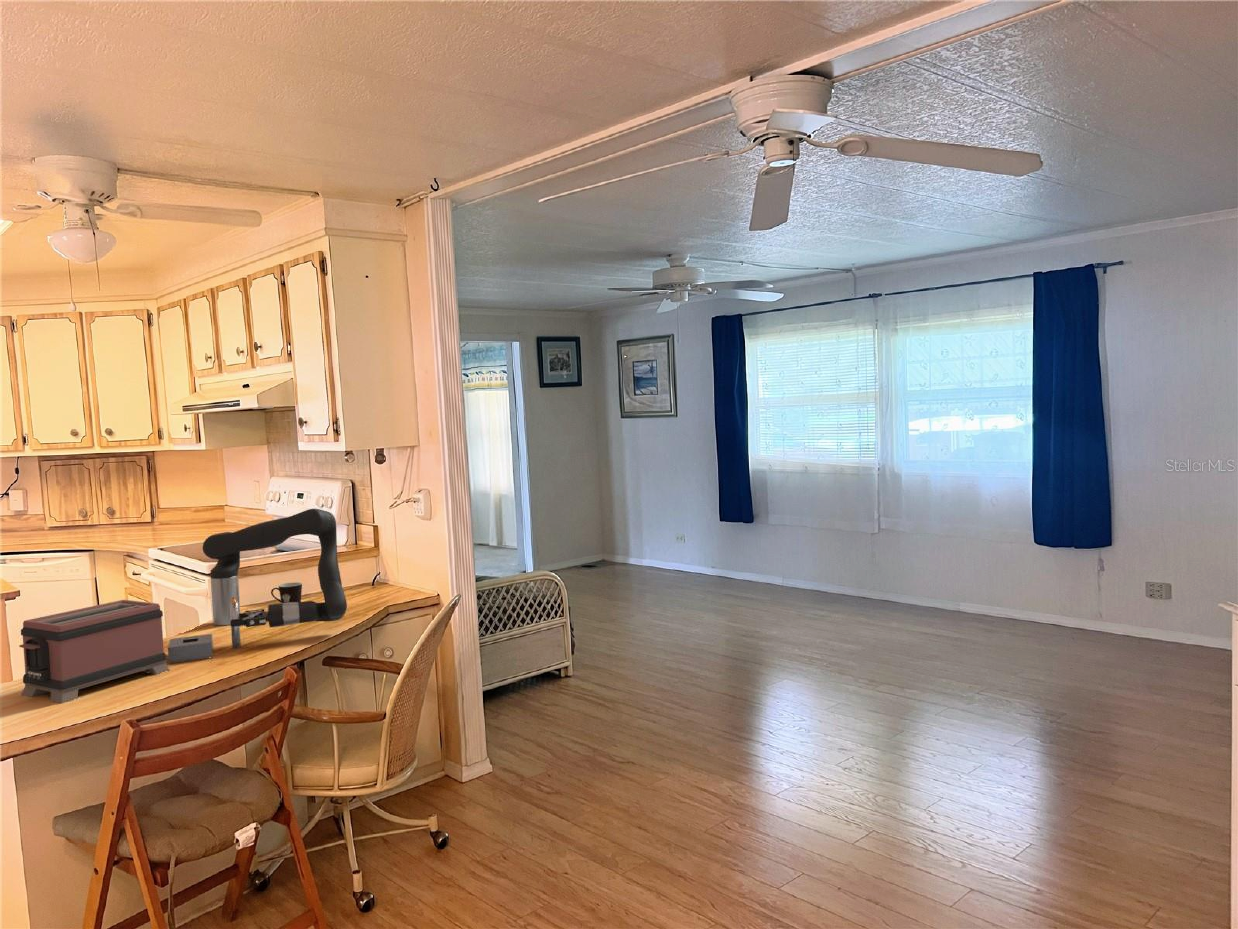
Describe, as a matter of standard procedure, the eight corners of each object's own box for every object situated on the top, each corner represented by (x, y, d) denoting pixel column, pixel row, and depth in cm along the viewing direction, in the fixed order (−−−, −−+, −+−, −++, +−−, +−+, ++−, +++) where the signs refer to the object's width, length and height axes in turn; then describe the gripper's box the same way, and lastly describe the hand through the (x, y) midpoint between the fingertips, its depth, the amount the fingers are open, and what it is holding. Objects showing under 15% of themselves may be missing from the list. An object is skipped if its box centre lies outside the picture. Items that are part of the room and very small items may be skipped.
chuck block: (171, 654, 270) (170, 638, 269) (212, 648, 275) (212, 633, 274) (168, 663, 259) (167, 647, 258) (212, 658, 264) (211, 642, 263)
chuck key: (232, 646, 277) (229, 597, 276) (240, 645, 279) (238, 596, 278) (232, 650, 272) (229, 601, 271) (241, 649, 273) (238, 600, 272)
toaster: (8, 698, 230) (3, 624, 229) (130, 664, 260) (126, 598, 259) (49, 708, 221) (44, 630, 220) (170, 671, 251) (166, 603, 250)
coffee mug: (308, 608, 330) (306, 583, 330) (289, 613, 323) (287, 587, 323) (289, 606, 337) (287, 581, 336) (270, 610, 329) (268, 585, 329)
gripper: (282, 599, 288) (229, 605, 281) (284, 607, 275) (229, 613, 268) (283, 621, 288) (231, 627, 281) (285, 630, 275) (231, 637, 268)
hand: (230, 620), depth 275 cm, fingers open, 8 cm apart
